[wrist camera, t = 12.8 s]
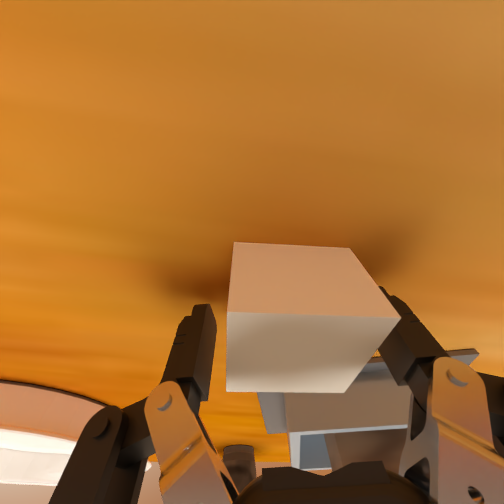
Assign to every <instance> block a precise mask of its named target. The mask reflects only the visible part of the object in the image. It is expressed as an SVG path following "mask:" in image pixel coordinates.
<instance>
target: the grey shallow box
mask: <svg viewBox="0 0 504 504" xmlns="http://www.w3.org/2000/svg"><path fill="white" fill-rule="evenodd" d="M446 353H447V354H448V355H449V356H450V357H451V358H454V359H457V360H459V361H461V362H463V363H465V364H467V365H468V366H469V365H470V364H471V363H472V361H473V360H474V359H475V358H476V357H477V356H478V355H479V353H478V352H477V351H476V350H475V349H469V350H458V351H446ZM411 393H412V391H411V390H410V388H409V386H408V385H407V386H398V385H397V383H396V382H395V380H394V378H393V376H392V374H391V373H390V371H389V369H388V367H387V365H386V364H385V362H384V360H383V358H382V357H376V358H370V360H369V361H368V362H367V364H366V365H365V366H364V367H363V369H362V370H361V371H360V373H359V374H358V375H357V377H356V378H355V379H354V381H353V382H352V383H351V385H350V386H349V387H348V388H347V390H346V391H345V392H344V393H305V392H257V395H258V398H259V402H260V406H261V410H262V414H263V418H264V422H265V426H266V430H267V434H274V433H287V436H288V444H289V452H290V460H291V467H294V468H297V469H301V470H304V471H306V470H322V469H332V468H331V463H330V459H329V455H328V451H327V447H326V442H325V438H324V434H326V433H341V432H356V431H371V430H386V429H400V428H407V426H408V416H409V406H410V396H411Z"/></svg>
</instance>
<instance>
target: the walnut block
mask: <svg viewBox="0 0 504 504" xmlns="http://www.w3.org/2000/svg"><path fill="white" fill-rule="evenodd" d="M406 436H407V428H400V429H386V430H371V431H356V432H341V433H326V434H324V438H325V442H326V447H327V451H328V455H329V459H330V463H331V468H332V472H334V471H336V470H338V469H340V468H342V467H344V466H346V465H348V464H350V463H352V462H367V461H382V462H383V464H384V467H385V469H389V470H391V471H393V472H395V473H397V474H399V465H400V459H401V455H402V451H403V449H404V446H405V442H406Z"/></svg>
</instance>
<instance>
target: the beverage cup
mask: <svg viewBox="0 0 504 504" xmlns="http://www.w3.org/2000/svg"><path fill="white" fill-rule="evenodd" d="M222 461H223V463H224V465H225V466H226V468H227V470H228V472H229V474H230V476H231V478H232V480H233V482H234V484H235V487H236V489H237V491H238V493H239V494H240V493H241V492H242V490H243V489H244V488H245V487H246V486H247V485H248V484H249V483H250V482H251V481H253V480H254V479H255V478H256V468H255V460H254V448H253V447H251V446H247V445H232V446H228V447H226V448H224V455H223V460H222Z"/></svg>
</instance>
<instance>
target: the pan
mask: <svg viewBox="0 0 504 504" xmlns="http://www.w3.org/2000/svg"><path fill="white" fill-rule="evenodd" d="M105 407H107V405H105V404H103V403H101V402H98V401H95V400H92V399H89V398H86V397H84V396H80V395H76V394H73V393H69V392H65V391H62V390H57V389H52V388H47V387H43V386H38V385H33V384H26V383H18V382H11V381H2V380H0V483H11V484H32V485H48V486H57V484H58V482H59V480H60V478H61V475H62V473H63V471H64V469H65V467H66V465H67V463H68V460H69V458H70V456H71V454H72V452H73V450H74V447H75V445H76V443H77V441H78V439H79V437H80V435H81V432H82V430H83V428H84V427H85V425H86V424H87V422H88V421H89V420H90V418H91V417H92V416H93V415H94V414H96V413H97V412H98V411H99V410H101V409H103V408H105ZM149 468H151V463H150V461H149V460H148V461H147V465H146V469H145V471H147V470H148V469H149Z"/></svg>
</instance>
